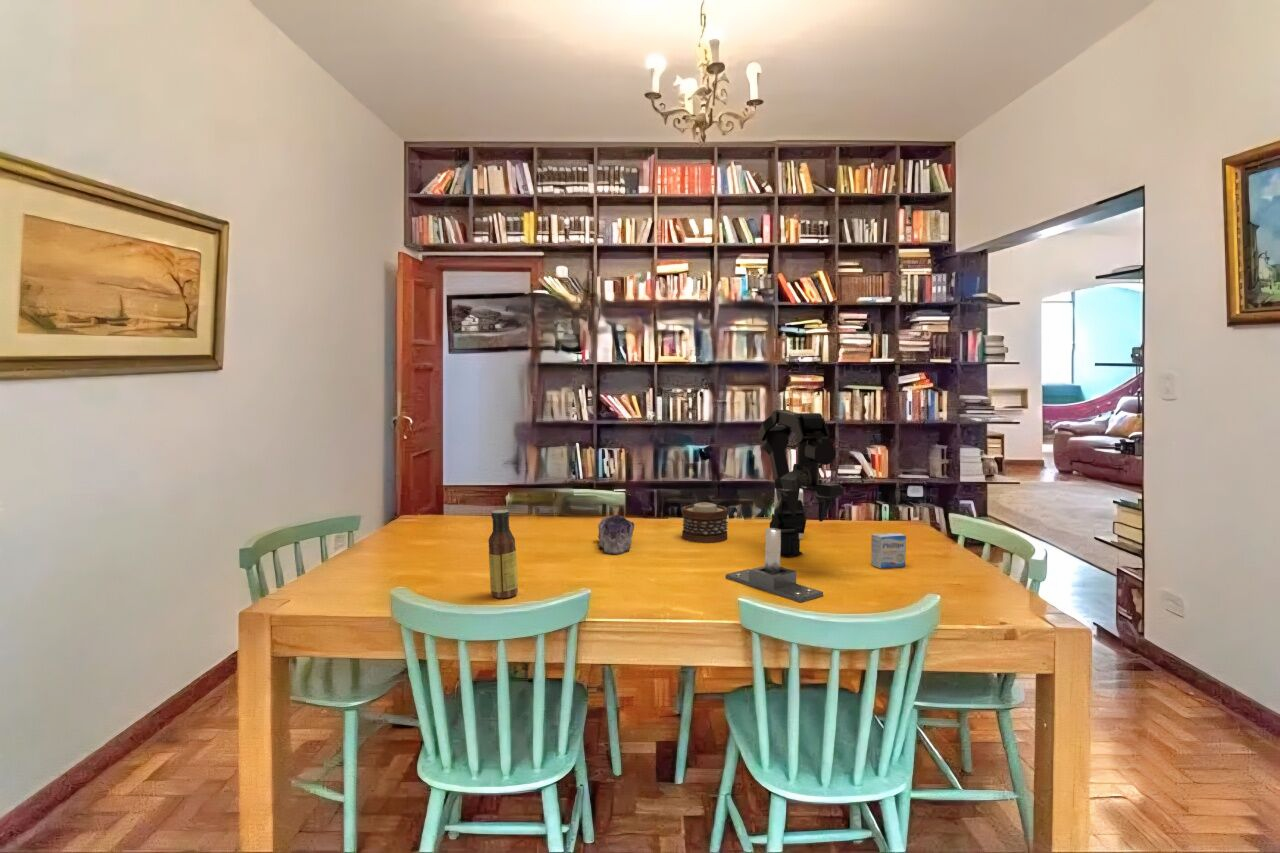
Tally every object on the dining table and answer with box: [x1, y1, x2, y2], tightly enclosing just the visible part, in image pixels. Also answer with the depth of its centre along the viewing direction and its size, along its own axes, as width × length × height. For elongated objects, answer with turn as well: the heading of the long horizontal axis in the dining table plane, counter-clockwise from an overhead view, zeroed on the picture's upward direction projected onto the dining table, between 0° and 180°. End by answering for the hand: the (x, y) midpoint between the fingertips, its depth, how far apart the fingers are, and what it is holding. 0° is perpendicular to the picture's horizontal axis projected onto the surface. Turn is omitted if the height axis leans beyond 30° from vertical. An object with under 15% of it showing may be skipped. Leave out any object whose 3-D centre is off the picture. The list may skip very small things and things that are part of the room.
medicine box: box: [870, 532, 907, 570], centre depth 189 cm, size 8×4×9 cm, turn 105°
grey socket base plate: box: [725, 565, 824, 603], centre depth 171 cm, size 24×8×4 cm, turn 37°
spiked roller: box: [681, 501, 730, 544], centre depth 222 cm, size 15×11×15 cm
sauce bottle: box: [488, 509, 519, 599], centre depth 163 cm, size 7×6×20 cm
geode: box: [597, 514, 635, 556], centre depth 210 cm, size 20×12×10 cm, turn 3°
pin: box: [764, 527, 781, 575], centre depth 170 cm, size 4×4×14 cm
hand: (806, 518), depth 188 cm, fingers open, 9 cm apart
